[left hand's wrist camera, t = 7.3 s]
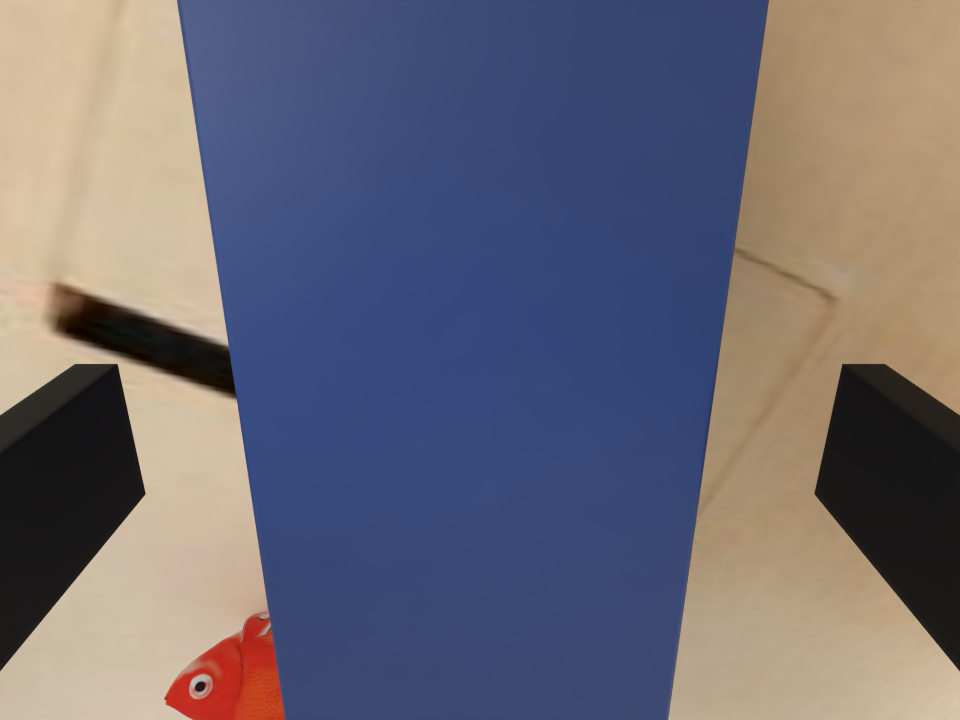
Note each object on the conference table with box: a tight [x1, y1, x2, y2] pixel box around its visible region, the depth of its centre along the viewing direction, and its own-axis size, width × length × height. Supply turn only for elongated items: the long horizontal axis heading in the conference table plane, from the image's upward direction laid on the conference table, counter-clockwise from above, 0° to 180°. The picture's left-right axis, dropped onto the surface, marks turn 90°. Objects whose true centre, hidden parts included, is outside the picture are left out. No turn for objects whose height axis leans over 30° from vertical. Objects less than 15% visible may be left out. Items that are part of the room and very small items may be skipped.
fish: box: [164, 610, 285, 720], centre depth 33 cm, size 11×16×10 cm
